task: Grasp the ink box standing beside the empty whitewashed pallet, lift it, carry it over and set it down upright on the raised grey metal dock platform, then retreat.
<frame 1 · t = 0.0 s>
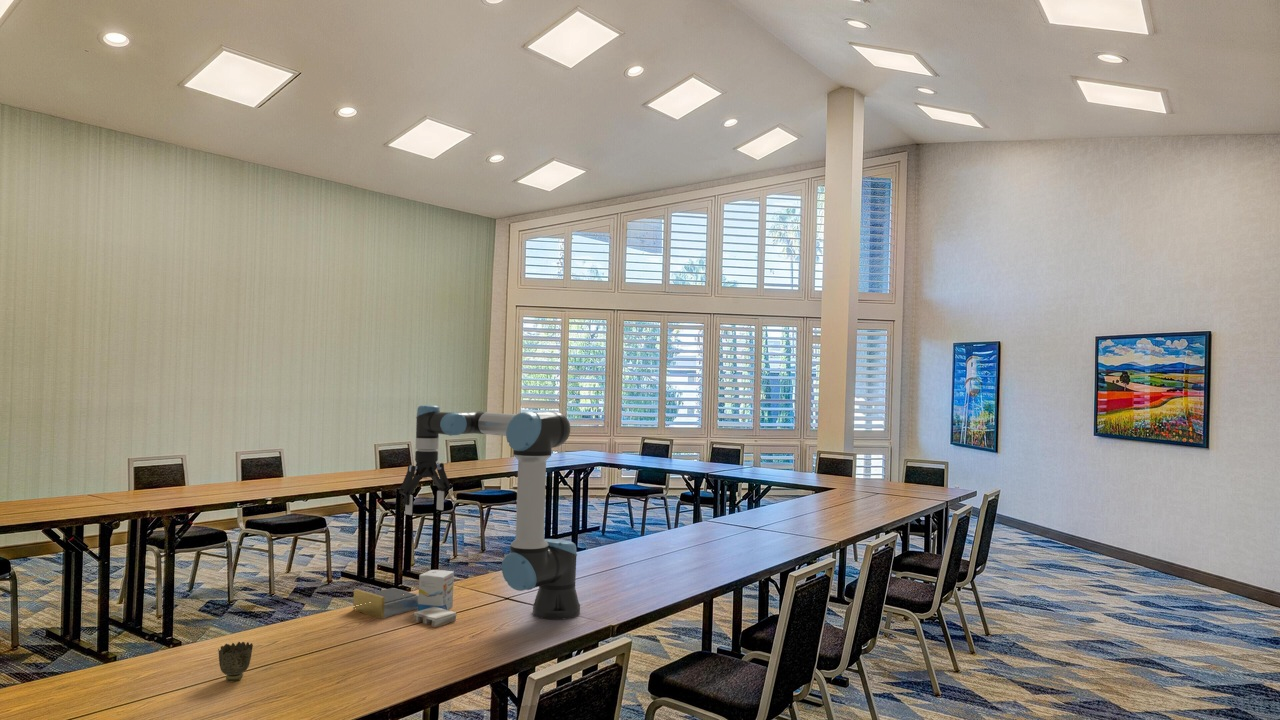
hand: (424, 512, 266), 28 cm above the table, fingers open, 13 cm apart
ink box: (435, 610, 248), on the table
pallet: (434, 620, 236), on the table
cup: (234, 680, 187), on the table
dock: (388, 608, 248), on the table
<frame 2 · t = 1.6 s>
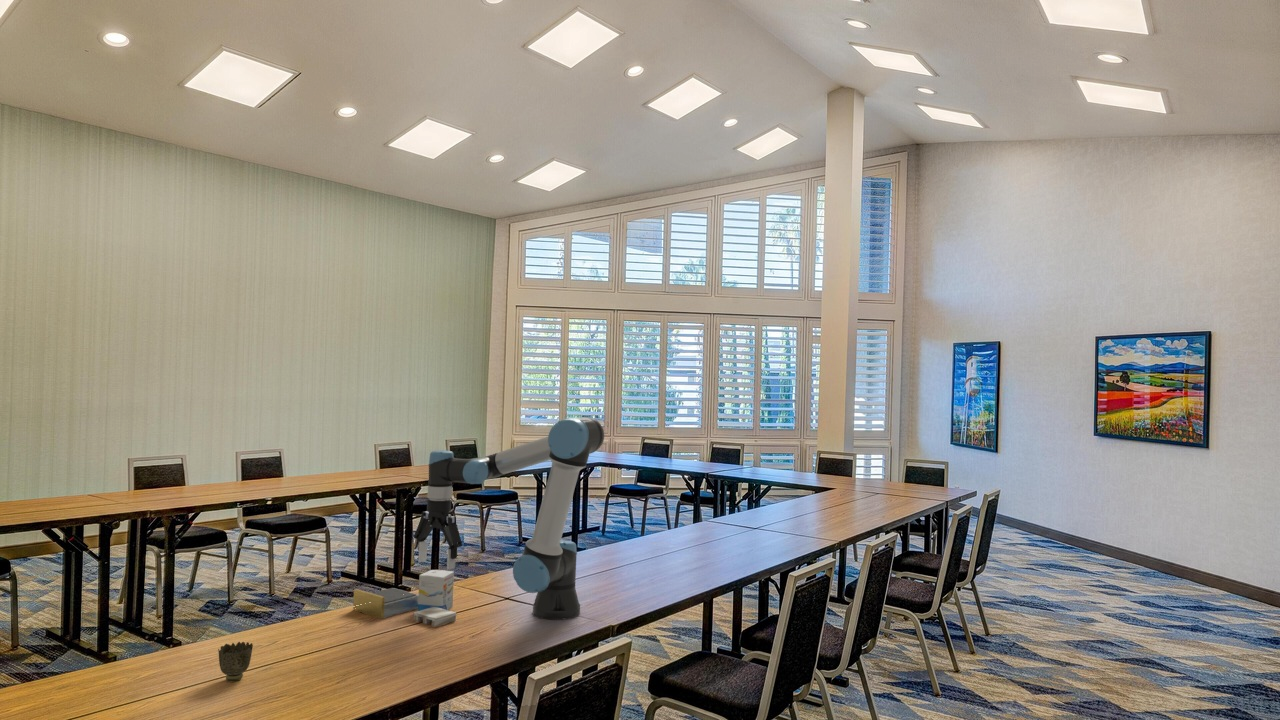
hand: (436, 565, 249), 14 cm above the table, fingers open, 13 cm apart
nothing on the table moved.
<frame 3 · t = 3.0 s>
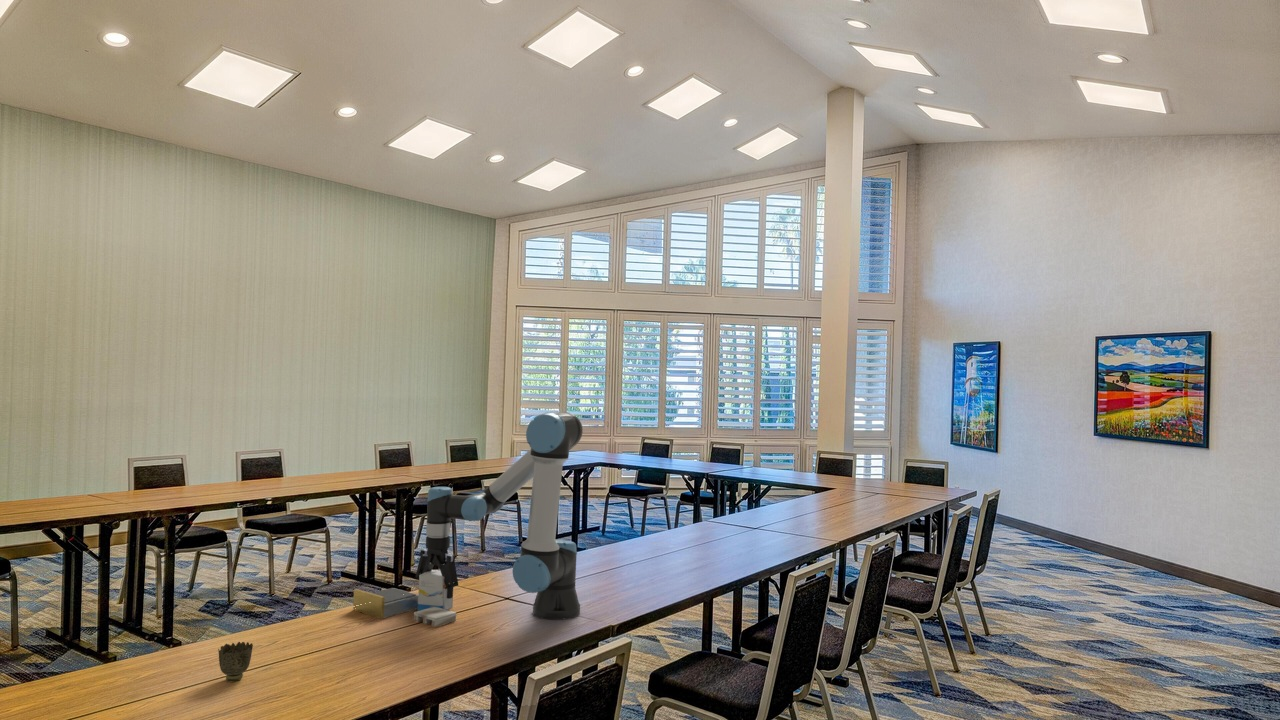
hand: (435, 605, 248), 1 cm above the table, fingers closed on ink box, 10 cm apart
ink box: (435, 610, 248), on the table, touching gripper
everything else where it was.
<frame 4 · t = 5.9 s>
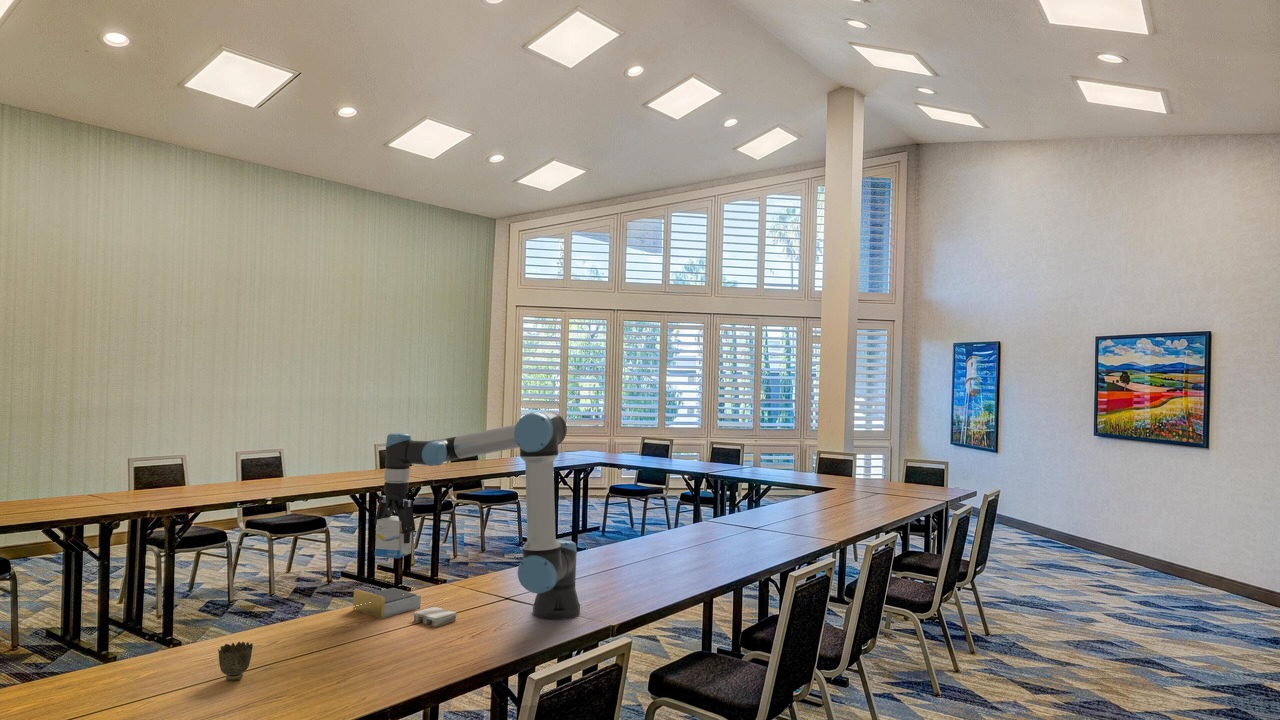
hand: (393, 550, 248), 18 cm above the table, fingers closed on ink box, 10 cm apart
ink box: (393, 555, 248), point 17 cm above the table, touching gripper
everything else where it was.
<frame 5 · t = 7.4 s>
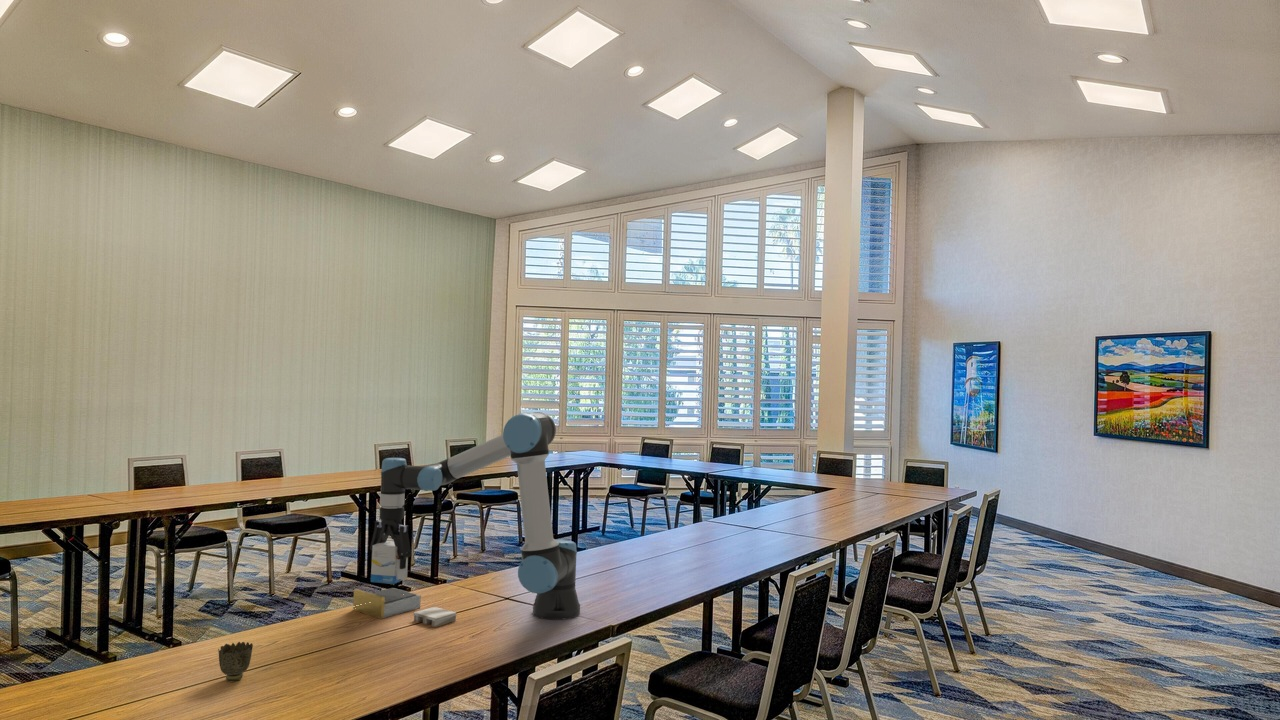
hand: (389, 575, 248), 10 cm above the table, fingers closed on ink box, 10 cm apart
ink box: (389, 580, 248), point 9 cm above the table, touching gripper
everything else where it was.
when the fingers open (7 cm above the table, at t = 8.6 s): ink box drops 1 cm, resting on dock.
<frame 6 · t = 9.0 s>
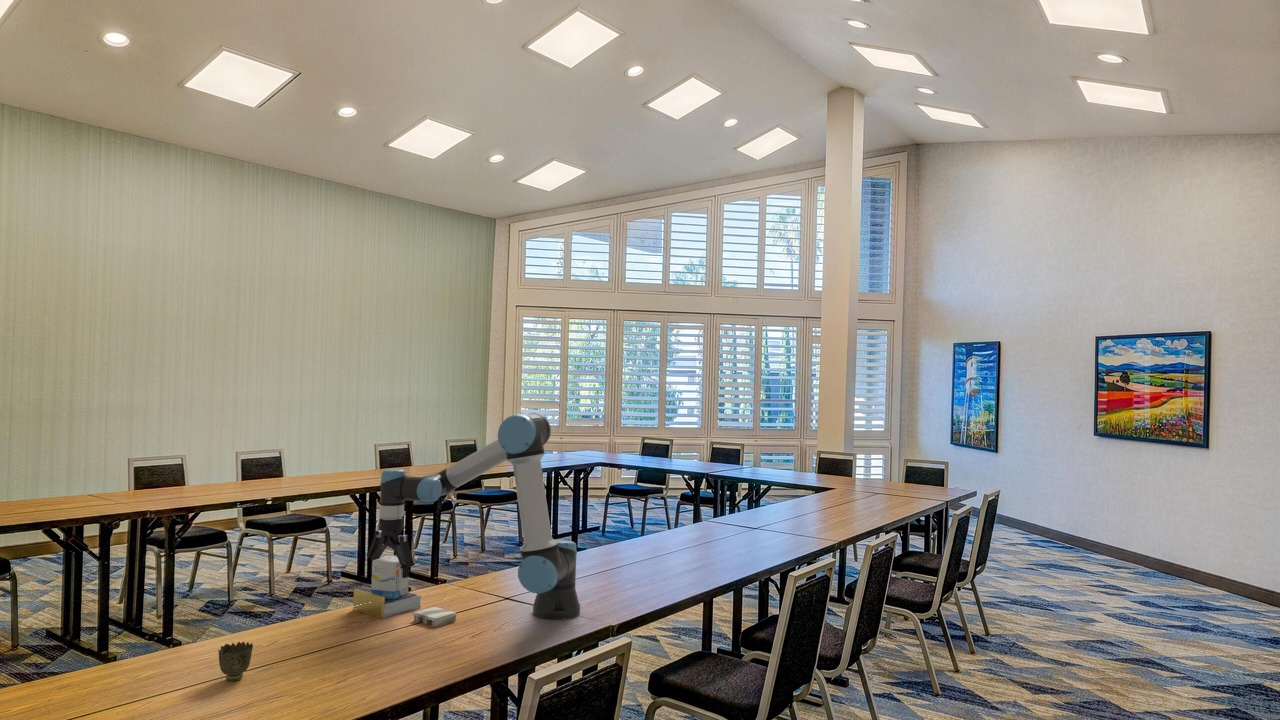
hand: (389, 584, 248), 8 cm above the table, fingers open, 13 cm apart
ink box: (389, 595, 248), point 4 cm above the table, touching dock
everything else where it was.
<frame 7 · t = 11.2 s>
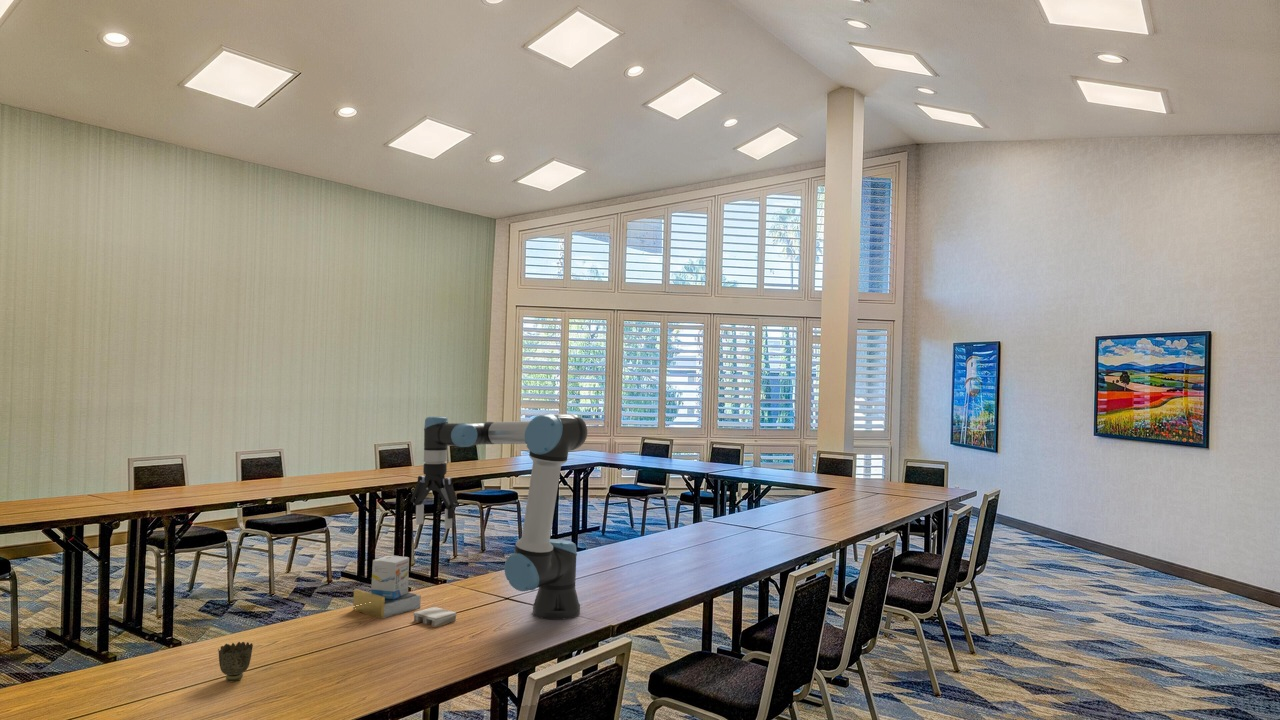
hand: (433, 526, 259), 25 cm above the table, fingers open, 13 cm apart
nothing on the table moved.
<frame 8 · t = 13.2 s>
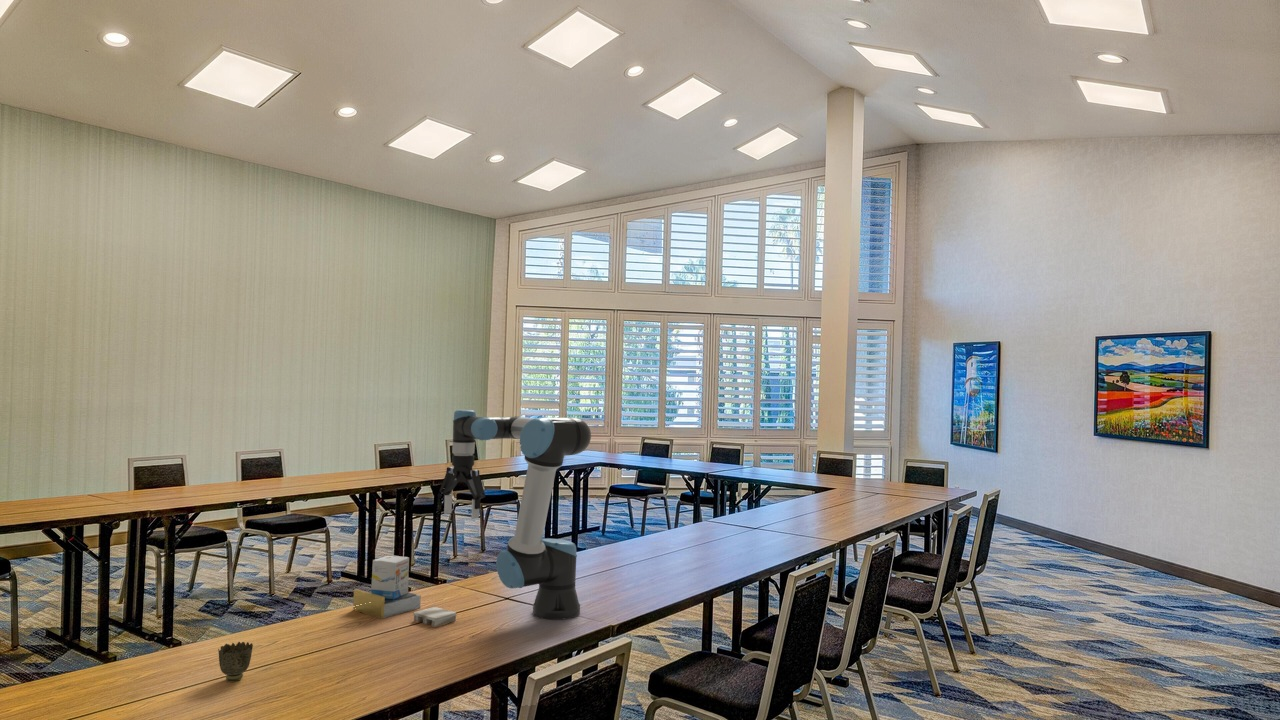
hand: (461, 516, 268), 27 cm above the table, fingers open, 13 cm apart
nothing on the table moved.
at the end: ink box inside the target area on the dock (0.3 cm from its centre), point 4.1 cm above the dock's base; ink box tilted 0°; the gripper is holding nothing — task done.
